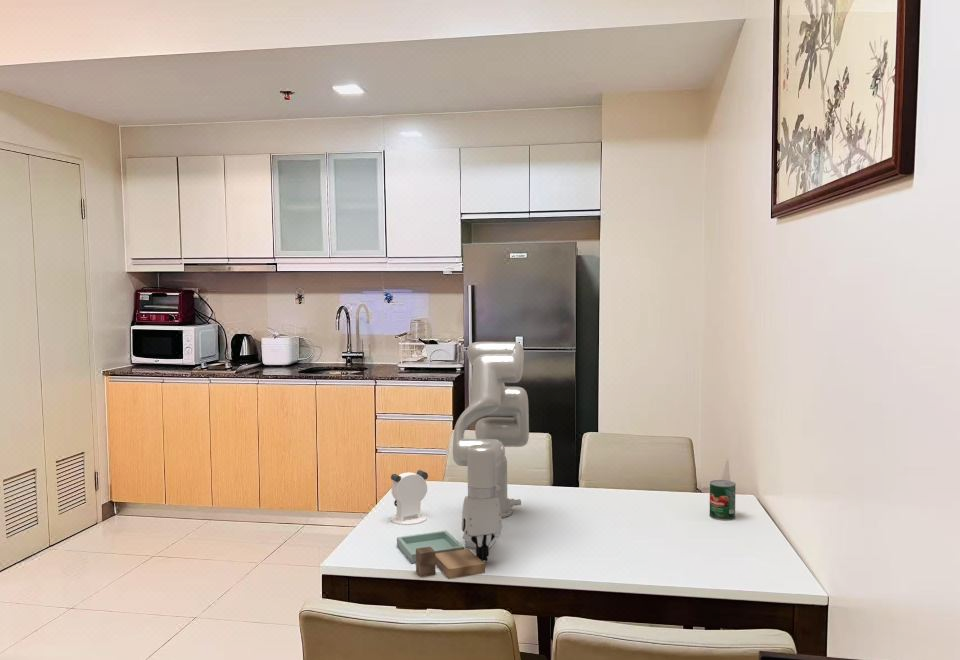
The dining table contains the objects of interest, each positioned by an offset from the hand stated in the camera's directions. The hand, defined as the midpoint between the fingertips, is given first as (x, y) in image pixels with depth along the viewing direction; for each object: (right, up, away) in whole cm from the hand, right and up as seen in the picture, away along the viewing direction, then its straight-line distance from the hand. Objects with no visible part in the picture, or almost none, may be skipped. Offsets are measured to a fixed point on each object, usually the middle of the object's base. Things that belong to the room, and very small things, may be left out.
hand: (482, 559), depth 192 cm
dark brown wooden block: (-15, -2, -6) cm, 16 cm away
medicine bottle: (-1, -1, +15) cm, 15 cm away
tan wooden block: (-6, -2, -2) cm, 7 cm away
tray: (-15, -1, +10) cm, 18 cm away
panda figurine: (-23, 0, +39) cm, 46 cm away
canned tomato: (+77, +1, +39) cm, 86 cm away
